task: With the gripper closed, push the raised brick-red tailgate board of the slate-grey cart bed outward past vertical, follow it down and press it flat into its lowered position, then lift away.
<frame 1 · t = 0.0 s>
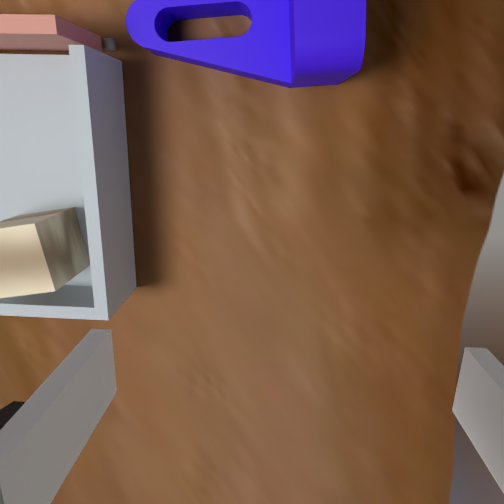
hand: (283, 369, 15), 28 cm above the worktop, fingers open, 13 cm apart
cart bed: (44, 180, 42), on the worktop
bracket: (238, 27, 37), on the worktop
beige block: (54, 240, 41), point 3 cm above the worktop, touching cart bed
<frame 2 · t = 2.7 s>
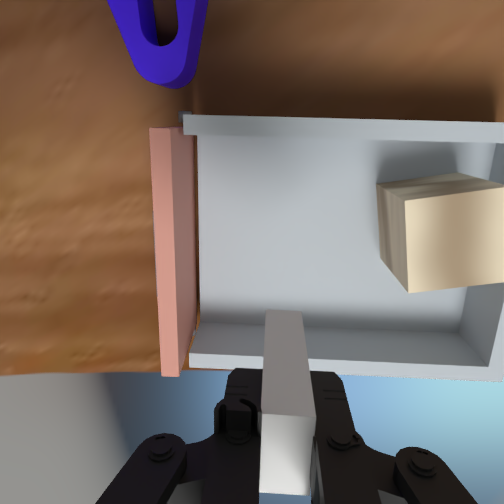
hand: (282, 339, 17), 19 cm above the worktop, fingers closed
cart bed: (337, 229, 35), on the worktop
tailgate: (174, 245, 29), point 6 cm above the worktop, hinge at 91.0°
beige block: (417, 216, 31), point 3 cm above the worktop, touching cart bed
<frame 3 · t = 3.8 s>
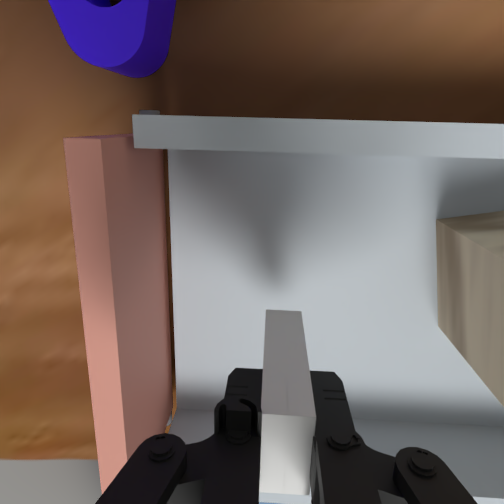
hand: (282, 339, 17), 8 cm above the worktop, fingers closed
cart bed: (371, 278, 25), on the worktop
tailgate: (130, 315, 19), point 6 cm above the worktop, hinge at 91.0°
beige block: (496, 267, 21), point 3 cm above the worktop, touching cart bed
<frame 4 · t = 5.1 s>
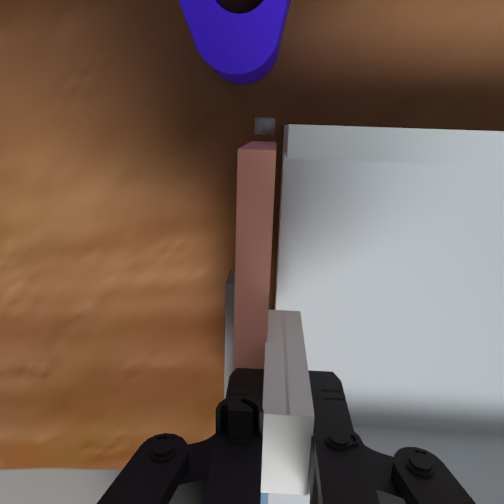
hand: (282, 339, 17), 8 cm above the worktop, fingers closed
cart bed: (468, 288, 24), on the worktop
tailgate: (249, 327, 19), point 6 cm above the worktop, hinge at 89.8°, touching gripper
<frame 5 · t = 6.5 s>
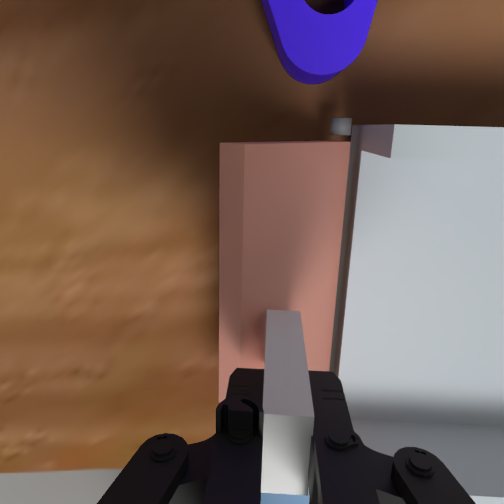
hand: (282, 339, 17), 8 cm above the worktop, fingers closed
tailgate: (281, 315, 20), point 5 cm above the worktop, hinge at 53.0°, touching gripper
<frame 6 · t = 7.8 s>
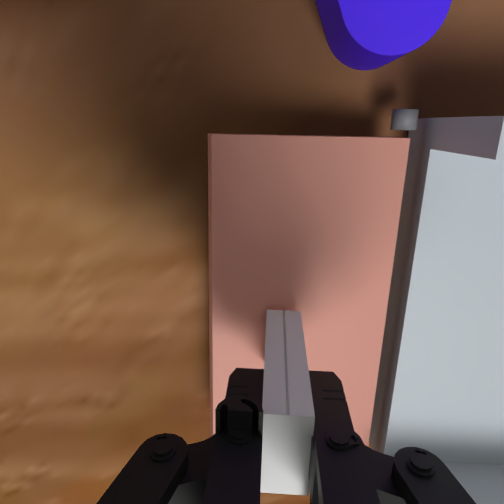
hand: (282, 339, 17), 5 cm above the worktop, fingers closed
tailgate: (296, 320, 19), point 3 cm above the worktop, hinge at 14.6°, touching gripper
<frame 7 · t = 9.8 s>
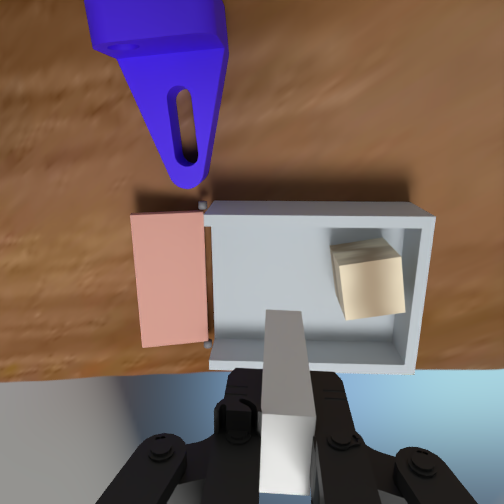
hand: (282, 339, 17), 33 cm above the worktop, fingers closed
cart bed: (307, 272, 51), on the worktop
bracket: (185, 103, 46), on the worktop
tailgate: (171, 279, 49), point 3 cm above the worktop, hinge at 14.4°
beige block: (358, 266, 47), point 3 cm above the worktop, touching cart bed
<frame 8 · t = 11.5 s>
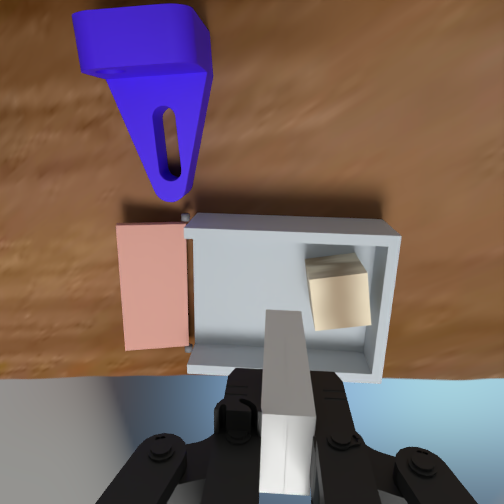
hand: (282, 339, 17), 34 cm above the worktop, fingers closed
cart bed: (285, 283, 54), on the worktop
bracket: (171, 120, 49), on the worktop
tailgate: (154, 286, 51), point 3 cm above the worktop, hinge at 14.4°
beige block: (331, 278, 50), point 3 cm above the worktop, touching cart bed
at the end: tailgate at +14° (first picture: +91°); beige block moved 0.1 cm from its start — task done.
